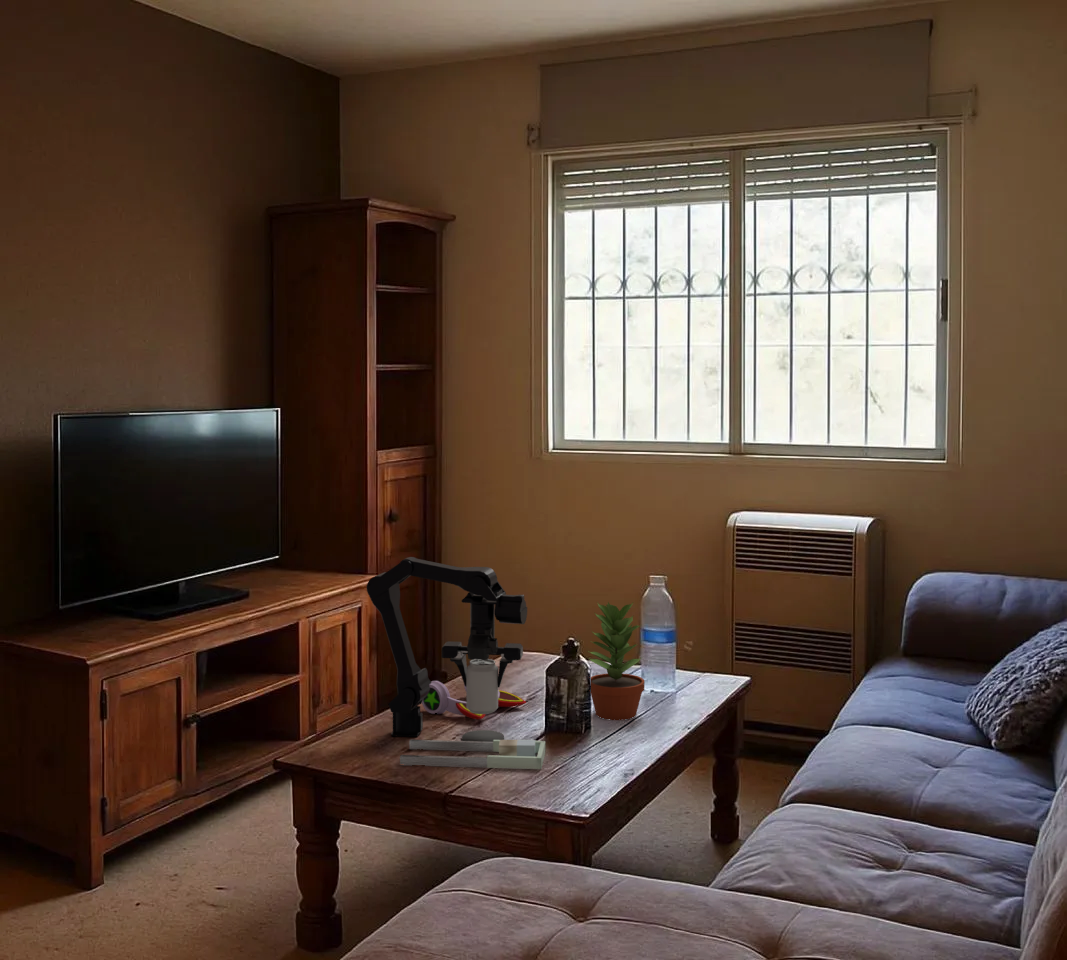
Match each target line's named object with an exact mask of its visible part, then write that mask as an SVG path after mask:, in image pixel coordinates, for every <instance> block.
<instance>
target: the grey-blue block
mask: <svg viewBox="0 0 1067 960" xmlns="http://www.w3.org/2000/svg"><path fill="white" fill-rule="evenodd" d="M517 740H518V741H517V756H534V757H536V753H535V741H536V739H517Z"/></svg>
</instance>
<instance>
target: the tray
mask: <svg viewBox="0 0 1067 960" xmlns="http://www.w3.org/2000/svg"><path fill="white" fill-rule="evenodd" d="M499 742H500V740H493V752H495V753H496V752H497V753H499ZM493 752H492V753H493ZM535 754H536V755H537V756H535V757H534V756H499V754H498V755H496V754H495V755H492V754H491V755H489V754H488V755H486V757H487V768H488V769H515V770H516V769H517V770H519V769H520V770H522V769H523V770H542V768H543V764H544V760H545V756H546V740H535Z"/></svg>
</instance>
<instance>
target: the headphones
mask: <svg viewBox="0 0 1067 960" xmlns="http://www.w3.org/2000/svg"><path fill="white" fill-rule="evenodd" d="M430 681H431V680H430ZM429 686H430V691H429V693H428V695H427V696H426V697H425V698H424V699H423V700H422V703H421V705H422V707H423V708H424V710H425V711H426V712H427V713H429V714H432V715H435V713H437V714H436V715H441V714H444V713H445V712H449V713H452V714H455V715H457V716H465V717H467V718H470V719H474V720H482V719H484V718H485V717H486V715H490V714H491V713H489V714H475V713H472V712H470V710H468V709H467V707H466V701H464V700H458V699H456V698H453V697H451V694H450V691H449V689H448V687H447V686H446V685H445V684H444V683H443V682H441V681H439V680H432V681H431V684H430V685H429ZM463 686H464V690H465V692H466V686H465V685H464V684H463ZM526 703H527V701H526V700H524V699H523V698H522V697H519V696H517V695H516V694H513V693H511V692H508V691H506V690H505V691H504V690H502V689H498V708H500V707H501V708H513V707H518V706H522V705H525V704H526ZM498 708H497V709H498ZM497 709H496V710H495V711H494V712H496V711H497Z"/></svg>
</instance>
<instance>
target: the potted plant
mask: <svg viewBox="0 0 1067 960" xmlns="http://www.w3.org/2000/svg"><path fill="white" fill-rule="evenodd" d="M596 603H597V606H598V608H599V609H600V610H601V612H602V613H603V614H597V613H595V612H594V614H595V616H596V617H597V619H599V620H600V622H601V624H600V625H601V629H602V632H603V633H604V634H602V633H600V632H593V631H592V633H593V634H594V635H595V636H596V637H597V638H598V639H599V640H600V641H602V642H603V643H601V642H599V641H591V643H592V644H594V645H596V646H598V647H600V648H602V649H604V650H605V651H607V652H609V654H610V655H611V656H610V657H609V656H606V655H605V654H603V653H600V652H598V651H589V650H587V652H588V653H590V654H592V655H593V656H595V657H597V658H598V659H596V658H588V657H587V658H588V659H589V660H590V662H592V663H594V664H596V665H598V666H599V667H601V668H603V669H605V670H606V673H600V674H596V675H591V676H590V677H591V692H590V695H591V699H592V700H591V701H592V703H593V708H594V712H595V715H596V716H597V717H598V716H599V717H598V718H600V717H601V718H600V719H602V718H604V719H603V720H606V719H610V720H609V721H626V720H625V719H628V720H631V719H630V718H632V717H634V716H635V715H636V716H637V713H638V709H639V705H640V700H641V698H642V694H643V692H644V691H645V679H644V678H642V676H641V677H640V676H638V675H634V674H629V673H624V672H626V671H627V670H629V669H630V668H632V667H633V666H635V665H636V664H637V663H639V662H640V660H641V659H642V657H640V658H632V659H629V660H628V661H626V662H624V658H625V655H626V654H628V653H629V651H631V650H632V649H634V648H635V647H636V646H637V644H632V645H630V644H629V643H628V642H629V640H630V638H631V637H632V634H633V632H634V631H635V630H636V629H638V628H639V627H641V625H638V624H637V625H633V624H632V622H633V621H634V619H633V617H634V615H632V616H631V617H625V616H626V615H627V613H628V612H629V611H630V609H631V607H632V606H633V604H634V602H632V603H631V604H630V603H629V604H625V605H624V606H622V608H621V609H620V610H619V608H618V606H616V605H613V604H610V603H609V601H608V602H607V604H606V605H605V604H599V603H598V601H596ZM603 660H604V661H603ZM636 716H635V717H636ZM635 717H634V718H635ZM632 719H633V718H632Z"/></svg>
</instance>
